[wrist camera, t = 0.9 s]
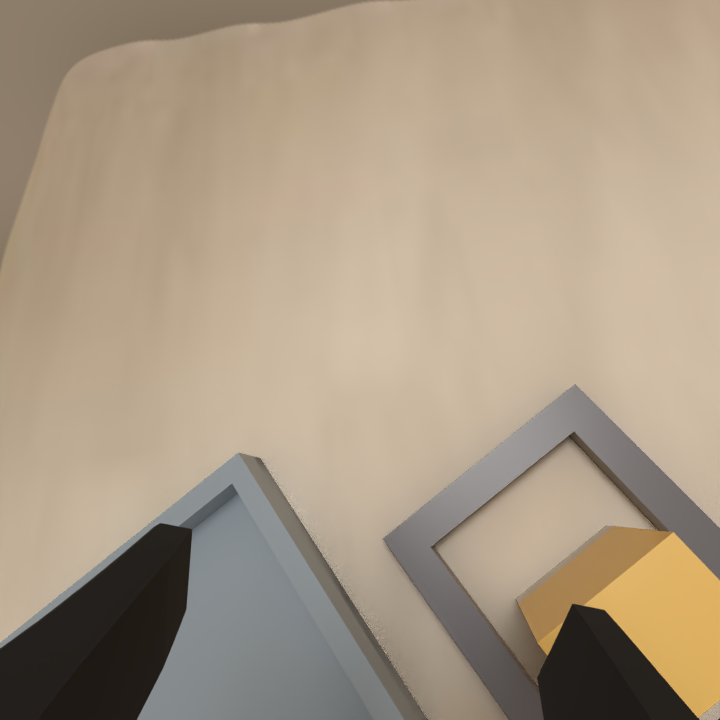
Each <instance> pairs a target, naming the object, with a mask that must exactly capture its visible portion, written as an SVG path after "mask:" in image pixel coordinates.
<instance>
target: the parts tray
mask: <svg viewBox="0 0 720 720" xmlns="http://www.w3.org/2000/svg"><path fill="white" fill-rule="evenodd" d="M159 523H164V524H169V525H174V526H179V527H184V528H189V529H193V530H192V543H191V556H190V569H189V583H188V596H187V609H186V612H185V615H184V617H183V620H182V622H181V625H180V628H179V630H178V633H177V635H176V638H175V640H174V643H173V645H172V648H171V650H170V653H169V655H168V658H167V660H166V663H165V665H164V668H163V670H162V672H161V674H160V676H159V678H158V680H157V682H156V684H155V685H154V687H153V689H152V691H151V693H150V695H149V697H148V699H147V701H146V703H145V705H144V707H143V709H142V711H141V713H140V715H139V717H138V719H137V720H427V719H426V717H425V715H424V714H423V712H422V711H421V709H420V708H419V706H418V704H417V703H416V701H415V700H414V698H413V697H412V695H411V694H410V692H409V690H408V689H407V687H406V686H405V684H404V683H403V681H402V679H401V678H400V676H399V675H398V673H397V672H396V670H395V668H394V667H393V665H392V664H391V662H390V661H389V659H388V658H387V656H386V654H385V653H384V651H383V650H382V648H381V647H380V645H379V643H378V642H377V640H376V639H375V637H374V636H373V634H372V633H371V631H370V629H369V628H368V626H367V625H366V623H365V622H364V620H363V618H362V617H361V615H360V614H359V612H358V611H357V609H356V607H355V606H354V604H353V603H352V601H351V600H350V598H349V597H348V595H347V593H346V592H345V590H344V589H343V587H342V586H341V584H340V582H339V581H338V579H337V578H336V576H335V575H334V573H333V571H332V570H331V568H330V567H329V565H328V564H327V562H326V561H325V559H324V557H323V556H322V554H321V553H320V551H319V550H318V548H317V546H316V545H315V543H314V542H313V540H312V539H311V537H310V535H309V534H308V532H307V531H306V529H305V528H304V526H303V525H302V523H301V521H300V520H299V518H298V517H297V515H296V514H295V512H294V510H293V509H292V507H291V506H290V504H289V503H288V501H287V500H286V498H285V496H284V495H283V493H282V492H281V490H280V489H279V487H278V485H277V484H276V482H275V481H274V479H273V478H272V476H271V474H270V473H269V471H268V470H267V468H266V467H265V465H264V464H263V462H262V460H261V459H260V458H257V457H253V456H249V455H245V454H242V453H237V454H236V455H235V456H234V457H232V458H231V459H230V460H229V461H227V462H226V463H225V464H224V465H222V466H221V467H220V468H219V469H217V470H216V471H215V472H214V473H212V474H211V475H210V476H209V477H207V478H206V479H205V480H204V481H202V482H201V483H200V484H199V485H197V486H196V487H195V488H193V489H192V490H191V491H190V492H188V493H187V494H186V495H185V496H183V497H182V498H181V499H180V500H178V501H177V502H176V503H175V504H173V505H172V506H171V507H170V508H168V509H167V510H166V511H165V512H163V513H162V514H161V515H160V516H158V517H157V518H156V519H155V520H153V521H152V522H151V523H150V524H148V525H147V526H146V527H145V528H143V529H142V530H141V531H140V532H138V533H137V534H136V535H135V536H133V537H132V538H131V539H130V540H128V541H127V542H126V543H125V544H123V545H122V546H121V547H120V548H118V549H117V550H116V551H115V552H113V553H112V554H111V555H110V556H108V557H107V558H106V559H105V560H103V561H102V562H101V563H100V564H98V565H97V566H96V567H95V568H93V569H92V570H91V571H90V572H88V573H87V574H86V575H85V576H83V577H82V578H81V579H80V580H78V581H77V582H76V583H75V584H73V585H72V586H71V587H70V588H68V589H67V590H66V591H64V592H63V593H62V594H61V595H59V596H58V597H57V598H56V599H54V600H53V601H52V602H51V603H49V604H48V605H47V606H46V607H44V608H43V609H42V610H41V611H39V612H38V613H37V614H36V615H34V616H33V617H32V618H31V619H29V620H28V621H27V622H26V623H24V624H23V625H22V626H21V627H19V628H18V629H17V630H16V631H14V632H13V633H12V634H11V635H9V636H8V637H7V638H6V639H4V640H3V641H2V642H1V643H0V648H1V647H3V646H4V645H5V644H7V643H8V642H10V641H11V640H12V639H14V638H15V637H16V636H18V635H19V634H21V633H22V632H23V631H25V630H26V629H27V628H29V627H30V626H32V625H33V624H34V623H36V622H37V621H39V620H40V619H41V618H42V617H44V616H45V615H46V614H48V613H49V612H50V611H52V610H53V609H54V608H56V607H57V606H58V605H59V604H61V603H62V602H63V601H64V600H66V599H67V598H68V597H70V596H71V595H72V594H73V593H75V592H76V591H77V590H78V589H80V588H81V587H82V586H83V585H85V584H86V583H87V582H89V581H90V580H91V579H92V578H94V577H95V576H96V575H97V574H98V573H100V572H101V571H102V570H103V569H105V568H106V567H107V566H108V565H109V564H111V563H112V562H113V561H114V560H115V559H117V558H118V557H119V556H120V555H121V554H123V553H124V552H125V551H126V550H127V549H128V548H130V547H131V546H132V545H133V544H134V543H136V542H137V541H138V540H139V539H140V538H141V537H143V536H144V535H145V534H146V533H147V532H148V531H150V530H151V529H152V528H153V527H154V526H156V525H158V524H159Z"/></svg>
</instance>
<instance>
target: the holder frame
mask: <svg viewBox="0 0 720 720" xmlns="http://www.w3.org/2000/svg"><path fill="white" fill-rule="evenodd" d="M568 436H570V437H571V438H572V439H573V440H574V441H575V442H576V443H577V444H578V445H579V446H580V447H581V448H582V450H583V451H584V452H585V453H586V454H587V455H588V456H589V457H590V458H591V459H592V460H593V461H594V462H595V463H596V464H597V465H598V466H599V467H600V469H601V470H602V471H603V472H604V473H605V474H606V475H607V476H608V477H609V478H610V479H611V480H612V481H613V482H614V483H615V484H616V485H617V486H618V488H619V489H620V490H621V491H622V492H623V493H624V494H625V495H626V496H627V497H628V498H629V499H630V500H631V501H632V502H633V503H634V504H635V505H636V507H637V508H638V509H639V510H640V511H641V512H642V513H643V514H644V515H645V516H646V517H647V518H648V519H649V520H650V521H651V522H652V523H653V524H654V526H655V527H656V528H657V529H658V530H659V531H667V532H674V533H675V534H676V535H677V536H678V537H679V538H680V539H681V540H682V541H683V543H684V544H685V545H686V546H687V547H688V548H689V549H690V550H691V551H692V552H693V553H694V554H695V555H696V556H697V557H698V558H699V559H700V560H701V561H702V562H703V563H704V564H705V565H706V567H707V568H708V569H709V570H710V571H711V572H712V573H713V574H714V575H715V576H716V577H717V578H718V579H719V580H720V528H719V527H718V526H717V525H716V524H715V523H714V522H713V521H712V520H711V519H710V518H709V517H708V516H707V515H706V514H705V513H704V512H703V511H702V510H701V509H700V508H699V507H698V506H697V505H696V504H695V503H694V502H693V501H692V500H691V499H690V498H689V497H688V496H687V495H686V494H685V493H684V492H683V491H682V490H681V489H680V488H679V487H678V486H677V485H676V484H675V483H674V482H673V481H672V480H671V479H670V478H669V477H668V476H667V475H666V474H665V473H664V472H663V471H662V470H661V469H660V468H659V467H658V466H657V465H656V464H655V463H654V462H653V461H652V460H651V459H650V458H649V457H648V456H647V455H646V454H645V453H644V452H643V451H642V450H641V449H640V448H639V447H638V446H637V445H636V444H635V443H634V442H633V441H632V440H631V439H630V438H629V437H628V436H627V435H626V434H625V433H624V432H623V431H622V430H621V429H620V428H619V427H618V426H617V425H616V424H615V423H614V422H613V421H612V420H611V419H610V418H609V417H608V416H607V415H606V414H605V413H604V412H603V411H602V410H601V409H600V408H599V407H598V406H597V405H596V404H595V403H594V402H593V401H592V400H591V399H590V398H589V397H588V396H587V395H586V394H585V393H584V392H583V391H582V390H581V389H580V388H579V387H578V386H577V385H576V384H575V385H573V386H572V387H571V388H570V389H568V390H567V391H566V392H565V393H563V394H562V395H561V396H560V397H559V398H557V399H556V400H555V401H554V402H552V403H551V404H550V405H549V406H547V407H546V408H545V409H544V410H542V411H541V412H540V413H539V414H537V415H536V416H535V417H534V418H532V419H531V420H530V421H529V422H527V423H526V424H525V425H524V426H522V427H521V428H520V429H519V430H518V431H516V432H515V433H514V434H513V435H511V436H510V437H509V438H508V439H506V440H505V441H504V442H503V443H501V444H500V445H499V446H498V447H496V448H495V449H494V450H493V451H491V452H490V453H489V454H488V455H486V456H485V457H484V458H483V459H481V460H480V461H479V462H478V463H477V464H475V465H474V466H473V467H472V468H470V469H469V470H468V471H467V472H465V473H464V474H463V475H462V476H460V477H459V478H458V479H457V480H455V481H454V482H453V483H452V484H450V485H449V486H448V487H447V488H445V489H444V490H443V491H442V492H440V493H439V494H438V495H437V496H436V497H434V498H433V499H432V500H431V501H429V502H428V503H427V504H426V505H424V506H423V507H422V508H421V509H419V510H418V511H417V512H416V513H414V514H413V515H412V516H411V517H409V518H408V519H407V520H406V521H404V522H403V523H402V524H401V525H399V526H398V527H397V528H396V529H394V530H393V531H392V532H391V533H390V534H388V535H387V536H386V537H385V538H383V540H384V542H385V543H386V545H387V546H388V547H389V549H390V550H391V552H392V553H393V555H394V556H395V557H396V559H397V560H398V562H399V563H400V565H401V566H402V567H403V569H404V570H405V572H406V573H407V575H408V576H409V577H410V579H411V580H412V582H413V583H414V585H415V586H416V587H417V589H418V590H419V592H420V593H421V595H422V596H423V597H424V599H425V600H426V602H427V603H428V605H429V606H430V607H431V609H432V610H433V612H434V613H435V615H436V616H437V617H438V619H439V620H440V622H441V623H442V625H443V626H444V627H445V629H446V630H447V632H448V633H449V635H450V636H451V637H452V639H453V640H454V642H455V643H456V645H457V646H458V647H459V649H460V650H461V652H462V653H463V654H464V656H465V657H466V659H467V660H468V662H469V663H470V664H471V666H472V667H473V669H474V670H475V672H476V673H477V674H478V676H479V677H480V679H481V680H482V682H483V683H484V684H485V686H486V687H487V689H488V690H489V692H490V693H491V694H492V696H493V697H494V699H495V700H496V702H497V703H498V704H499V706H500V707H501V709H502V710H503V712H504V713H505V714H506V716H507V717H508V719H509V720H544V717H543V712H542V705H541V699H540V692H539V688H538V687H537V685H536V684H535V683H534V681H533V680H532V679H531V677H530V676H529V675H528V673H527V672H526V671H525V669H524V668H523V667H522V665H521V664H520V663H519V661H518V660H517V658H516V657H515V656H514V654H513V653H512V652H511V650H510V649H509V648H508V646H507V645H506V644H505V642H504V641H503V640H502V638H501V637H500V635H499V634H498V633H497V631H496V630H495V629H494V627H493V626H492V625H491V623H490V622H489V621H488V619H487V618H486V617H485V615H484V614H483V613H482V611H481V610H480V608H479V607H478V606H477V604H476V603H475V602H474V600H473V599H472V598H471V596H470V595H469V594H468V592H467V591H466V590H465V588H464V587H463V585H462V584H461V583H460V581H459V580H458V579H457V577H456V576H455V575H454V573H453V572H452V571H451V569H450V568H449V567H448V565H447V564H446V563H445V561H444V560H443V558H442V557H441V556H440V554H439V553H438V552H437V550H436V549H435V548H434V546H433V545H434V544H435V543H436V542H437V541H439V540H440V539H441V538H442V537H444V536H445V535H446V534H447V533H449V532H450V531H451V530H452V529H454V528H455V527H456V526H457V525H459V524H460V523H461V522H462V521H464V520H465V519H466V518H467V517H468V516H470V515H471V514H472V513H473V512H475V511H476V510H477V509H478V508H480V507H481V506H482V505H483V504H485V503H486V502H487V501H488V500H490V499H491V498H492V497H493V496H495V495H496V494H497V493H498V492H500V491H501V490H502V489H503V488H504V487H506V486H507V485H508V484H509V483H511V482H512V481H513V480H514V479H516V478H517V477H518V476H519V475H521V474H522V473H523V472H524V471H526V470H527V469H528V468H529V467H531V466H532V465H533V464H534V463H535V462H537V461H538V460H539V459H540V458H542V457H543V456H544V455H545V454H547V453H548V452H549V451H550V450H552V449H553V448H554V447H555V446H557V445H558V444H559V443H560V442H562V441H563V440H564V439H565V438H566V437H568ZM719 720H720V719H719Z"/></svg>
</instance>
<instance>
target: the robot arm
mask: <svg viewBox="0 0 720 720" xmlns="http://www.w3.org/2000/svg"><path fill="white" fill-rule="evenodd" d="M192 530H193V529H189V528H184V527H179V526H174V525H169V524H164V523H159V524H158V525H156V526H154V527H153V528H152V529H151V530H150V531H148V532H147V533H146V534H145V535H144V536H143V537H141V538H140V539H139V540H138V541H137V542H136V543H134V544H133V545H132V546H131V547H130V548H128V549H127V550H126V551H125V552H124V553H123V554H121V555H120V556H119V557H118V558H117V559H115V560H114V561H113V562H112V563H111V564H109V565H108V566H107V567H106V568H105V569H103V570H102V571H101V572H100V573H98V574H97V575H96V576H95V577H94V578H92V579H91V580H90V581H89V582H87V583H86V584H85V585H83V586H82V587H81V588H80V589H78V590H77V591H76V592H75V593H73V594H72V595H71V596H70V597H68V598H67V599H66V600H64V601H63V602H62V603H61V604H59V605H58V606H57V607H56V608H54V609H53V610H52V611H50V612H49V613H48V614H46V615H45V616H44V617H42V618H41V619H40V620H39V621H37V622H36V623H34V624H33V625H32V626H30V627H29V628H27V629H26V630H25V631H23V632H22V633H21V634H19V635H18V636H16V637H15V638H14V639H12V640H11V641H10V642H8V643H7V644H5V645H4V646H3V647H1V648H0V720H137V719H138V717H139V715H140V713H141V711H142V709H143V707H144V705H145V703H146V701H147V699H148V697H149V695H150V693H151V691H152V689H153V687H154V685H155V684H156V682H157V680H158V678H159V676H160V674H161V672H162V670H163V668H164V665H165V663H166V660H167V658H168V655H169V653H170V650H171V648H172V645H173V643H174V640H175V638H176V635H177V633H178V630H179V628H180V625H181V622H182V620H183V617H184V615H185V612H186V609H187V596H188V583H189V569H190V556H191V543H192ZM537 679H538V685H539V692H540V699H541V705H542V712H543V717H544V720H699V718H698V717H697V716H696V715H695V714H694V713H693V712H692V710H691V709H690V708H689V707H688V706H687V705H686V703H685V702H684V701H683V700H682V699H681V698H680V696H679V695H678V694H677V693H676V692H675V691H674V690H673V688H672V687H671V686H670V685H669V684H668V682H667V681H666V680H665V679H664V678H663V677H662V675H661V674H660V673H659V672H658V671H657V670H656V668H655V667H654V666H653V665H652V664H651V663H650V661H649V660H648V659H647V658H646V657H645V655H644V654H643V653H642V652H641V651H640V650H639V648H638V647H637V646H636V645H635V644H634V643H633V641H632V640H631V639H630V638H629V637H628V636H627V634H626V633H625V632H624V631H623V630H622V629H621V628H620V626H619V625H618V624H617V623H616V622H615V621H614V620H613V619H612V617H611V616H610V615H609V614H608V613H607V612H606V611H605V610H603V609H598V608H593V607H588V606H583V605H577V604H572V606H571V608H570V610H569V612H568V614H567V616H566V618H565V620H564V623H563V625H562V627H561V629H560V631H559V633H558V635H557V637H556V639H555V642H554V644H553V646H552V648H551V650H550V652H549V654H548V656H547V659H546V661H545V663H544V665H543V667H542V669H541V671H540V673H539V676H538V678H537Z"/></svg>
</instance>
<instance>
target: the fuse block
mask: <svg viewBox="0 0 720 720" xmlns="http://www.w3.org/2000/svg"><path fill="white" fill-rule="evenodd" d="M516 600H517V602H518V604H519V606H520V608H521V610H522V612H523V614H524V616H525V618H526V620H527V623H528V625H529V627H530V629H531V631H532V633H533V635H534V637H535V639H536V641H537V643H538V644H539V646H540V647H541V648H542V650H543V651H544V652H545V653H546V655H547V656H548V654H549V652H550V650H551V648H552V646H553V644H554V642H555V639H556V637H557V635H558V633H559V631H560V629H561V627H562V625H563V623H564V620H565V618H566V616H567V614H568V612H569V610H570V608H571V606H572V604H577V605H583V606H588V607H593V608H598V609H603V610H605V611H606V612H607V613H608V614H609V615H610V616H611V617H612V619H613V620H614V621H615V622H616V623H617V624H618V625H619V626H620V628H621V629H622V630H623V631H624V632H625V633H626V634H627V636H628V637H629V638H630V639H631V640H632V641H633V643H634V644H635V645H636V646H637V647H638V648H639V650H640V651H641V652H642V653H643V654H644V655H645V657H646V658H647V659H648V660H649V661H650V663H651V664H652V665H653V666H654V667H655V668H656V670H657V671H658V672H659V673H660V674H661V675H662V677H663V678H664V679H665V680H666V681H667V682H668V684H669V685H670V686H671V687H672V688H673V690H674V691H675V692H676V693H677V694H678V695H679V696H680V698H681V699H682V700H683V701H684V702H685V703H686V705H687V706H688V707H689V708H690V709H691V710H692V712H693V713H694V714H695V715H696V716H697V717H698V718H699V717H700V716H701V715H702V714H703V713H705V712H706V711H707V710H708V709H710V708H711V707H712V706H713V705H714V704H716V703H717V702H718V701H719V700H720V580H719V579H718V578H717V577H716V576H715V575H714V574H713V573H712V572H711V571H710V570H709V569H708V568H707V567H706V565H705V564H704V563H703V562H702V561H701V560H700V559H699V558H698V557H697V556H696V555H695V554H694V553H693V552H692V551H691V550H690V549H689V548H688V547H687V546H686V545H685V544H684V543H683V541H682V540H681V539H680V538H679V537H678V536H677V535H676V534H675V533H674V532H667V531H657V530H647V529H637V528H626V527H616V526H605V527H604V528H603V529H601V530H600V531H599V532H598V533H597V534H595V535H594V536H593V537H592V538H590V539H589V540H588V541H587V542H585V543H584V544H583V545H582V546H580V547H579V548H578V549H577V550H576V551H574V552H573V553H572V554H571V555H569V556H568V557H567V558H566V559H564V560H563V561H562V562H561V563H559V564H558V565H557V566H556V567H555V568H553V569H552V570H551V571H550V572H548V573H547V574H546V575H545V576H543V577H542V578H541V579H540V580H538V581H537V582H536V583H535V584H534V585H532V586H531V587H530V588H529V589H527V590H526V591H525V592H524V593H522V594H521V595H520V596H519V597H518V598H516Z"/></svg>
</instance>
